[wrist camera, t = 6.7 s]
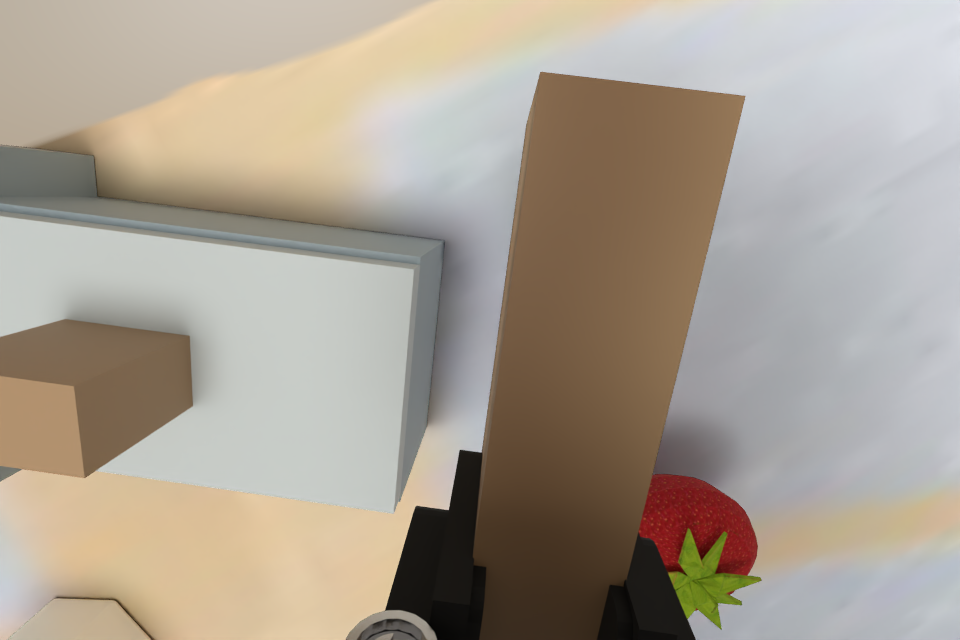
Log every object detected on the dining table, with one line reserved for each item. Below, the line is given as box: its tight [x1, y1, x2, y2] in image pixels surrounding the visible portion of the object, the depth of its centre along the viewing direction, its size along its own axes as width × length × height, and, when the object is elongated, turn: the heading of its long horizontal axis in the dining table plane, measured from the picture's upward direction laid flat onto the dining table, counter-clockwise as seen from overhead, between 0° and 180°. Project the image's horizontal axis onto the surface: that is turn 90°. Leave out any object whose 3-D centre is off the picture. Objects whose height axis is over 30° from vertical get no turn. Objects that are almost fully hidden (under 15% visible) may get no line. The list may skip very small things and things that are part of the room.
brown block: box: [473, 72, 745, 640], centre depth 9 cm, size 2×16×4 cm, turn 173°
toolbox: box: [0, 145, 445, 502], centre depth 21 cm, size 23×15×11 cm, turn 83°
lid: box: [0, 211, 420, 514], centre depth 17 cm, size 22×10×6 cm, turn 83°
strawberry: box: [638, 474, 762, 630], centre depth 23 cm, size 6×8×10 cm
